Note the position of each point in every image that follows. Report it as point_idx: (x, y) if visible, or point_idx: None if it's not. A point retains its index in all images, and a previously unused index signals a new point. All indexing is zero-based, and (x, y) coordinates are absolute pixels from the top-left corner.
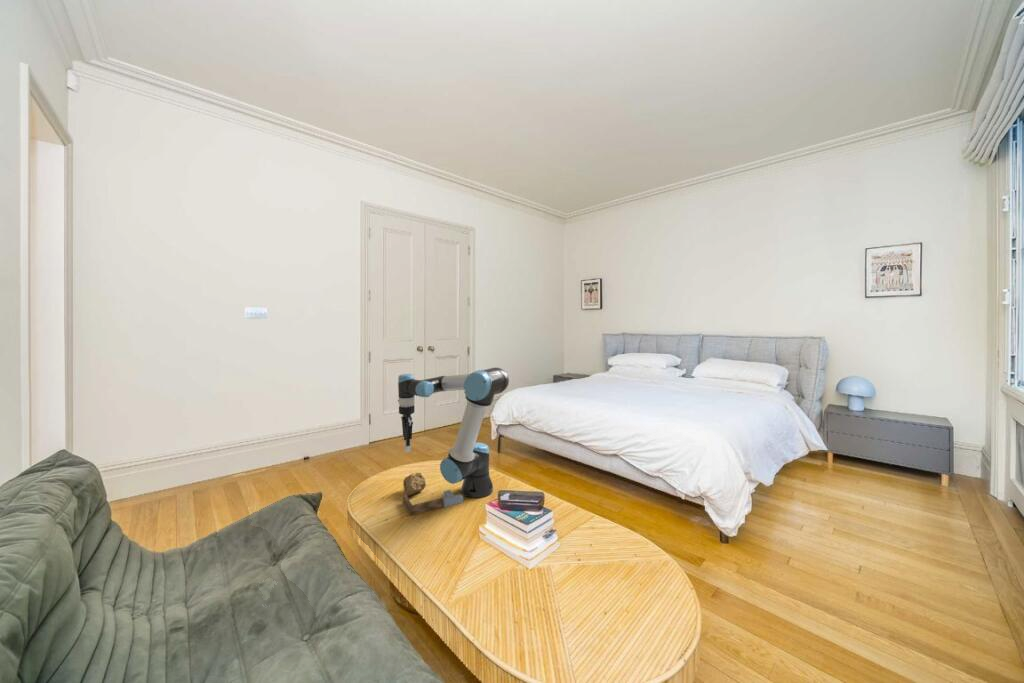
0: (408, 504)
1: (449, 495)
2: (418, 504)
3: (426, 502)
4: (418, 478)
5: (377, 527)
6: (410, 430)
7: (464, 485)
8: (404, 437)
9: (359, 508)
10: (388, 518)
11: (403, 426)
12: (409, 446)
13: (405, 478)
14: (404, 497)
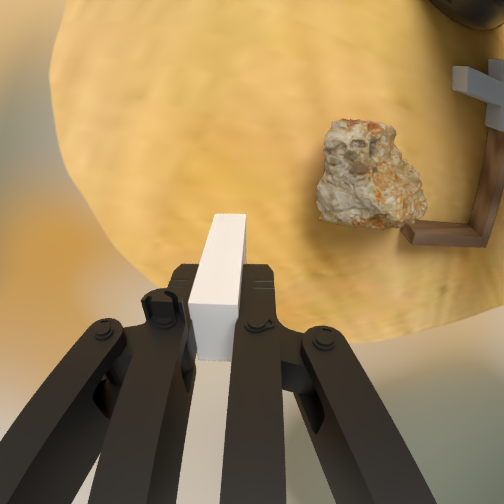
0: (471, 245)
1: (498, 97)
2: (490, 219)
3: (498, 193)
4: (378, 161)
5: (453, 310)
6: (405, 487)
7: (486, 18)
8: (194, 373)
9: None
10: (443, 285)
11: (78, 481)
12: (243, 253)
13: (353, 226)
14: (428, 242)
